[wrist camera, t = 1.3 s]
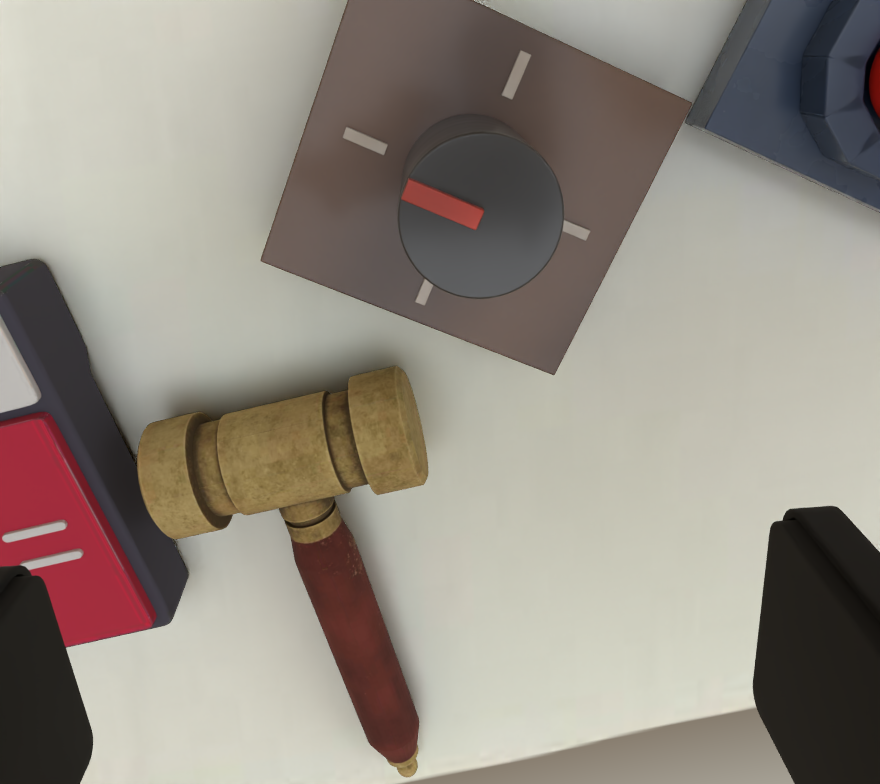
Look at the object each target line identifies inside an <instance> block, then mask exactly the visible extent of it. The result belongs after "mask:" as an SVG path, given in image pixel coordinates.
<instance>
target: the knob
mask: <svg viewBox="0 0 880 784" xmlns="http://www.w3.org/2000/svg"><path fill="white" fill-rule="evenodd" d="M397 221H398V231H399V235H400V240H401V243H402V246H403V248H404V251H405V253H406V255H407V257H408V259H409V260H410V262H411V263H412V265H413V266H414V268H415V269H416V270H417V271H418V272H419V273H420V275H421V276H422V277H424V278H425V279H426V280H427V281H428V282H429V283H431V284H432V285H434V286H435V287H437V288H438V289H440V290H442V291H445V292H447V293H449V294H452V295H455V296H458V297H463V298H469V299H489V298H495V297H500V296H503V295H506V294H509V293H511V292H514V291H516V290H518V289H520V288H521V287H523V286H525V285H526V284H528V283H529V282H530V281H532V280H533V279H534V278H535V277H536V276H538V274H539V273H540V272H541V271H542V270H543V269H544V268H545V267H546V265H547V264H548V263H549V261H550V260H551V258H552V256H553V255H554V253H555V251H556V249H557V247H558V244H559V242H560V239H561V235H562V231H563V225H564V201H563V195H562V192H561V188H560V185H559V182H558V180H557V178H556V176H555V174H554V172H553V170H552V169H551V167H550V166H549V164H548V163H547V162H546V161H545V159H544V158H543V157H542V156H541V155H540V154H539V153H538V152H537V151H536V150H535V149H534V148H533V147H531V146H530V145H529V144H528V143H527V142H526V141H525V140H524V139H523V138H522V137H521V136H520V135H519V134H518V133H517V132H516V131H515V130H514V129H512V128H511V127H509V126H508V125H507V124H505V123H503V122H501V121H500V120H498V119H495V118H492V117H489V116H485V115H480V114H462V115H457V116H452V117H449V118H447V119H444V120H442V121H440V122H438V123H436V124H435V125H433V126H432V127H430V128H429V129H428V130H427V131H425V132H424V133H423V134H422V135H421V136H420V137H419V139H418V140H417V141H416V142H415V144H414V145H413V147H412V149H411V150H410V152H409V154H408V157H407V159H406V162H405V165H404V169H403V174H402V181H401V188H400V196H399V203H398V215H397Z"/></svg>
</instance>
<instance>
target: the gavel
mask: <svg viewBox="0 0 880 784" xmlns="http://www.w3.org/2000/svg"><path fill="white" fill-rule="evenodd" d="M137 472H138V480H139V485H140V490H141V494H142V497H143V500H144V503H145V505H146V508H147V510H148V512H149V514H150V516H151V518H152V519H153V521H154V522H155V523H156V525H157V526H158V527H159V528H160V530H161V531H162V532H163V533H164V534H166V535H167V536H168V537H170V538H173V539H180V538H185V537H189V536H194V535H199V534H203V533H208V532H212V531H217V530H221V529H224V528H226V527H227V526H228V524H229V523H230V521H231V519H232V515H233V514H236V513H240V512H241V513H242V514H244V515H251V514H255V513H260V512H264V511H269V510H273V509H278V508H279V511H280V513H281V516H282V517H283V519H284V520H285V524H286V526H287V529H288V531H289V534H290V536H291V541H292V547H293V552H294V558H295V562H296V565H297V567H298V570H299V572H300V575H301V577H302V580H303V582H304V585H305V587H306V590H307V592H308V594H309V597H310V599H311V602H312V604H313V607H314V609H315V612H316V614H317V617H318V619H319V622H320V624H321V626H322V629H323V631H324V634H325V636H326V639H327V641H328V644H329V646H330V649H331V651H332V653H333V656H334V658H335V661H336V663H337V666H338V668H339V671H340V673H341V676H342V678H343V681H344V683H345V685H346V688H347V690H348V693H349V695H350V698H351V700H352V703H353V705H354V708H355V710H356V712H357V715H358V717H359V720H360V722H361V725H362V727H363V730H364V732H365V735H366V737H367V739H368V742H369V743H370V745H371V746H372V747H373V748H375V749H376V750H377V751H378V752H379V753H381V754H382V755H383V756H384V757H385V758H386V759H387V761H388V762H389V764H390V765H392V766H394V767H397V770H398V772H399V773H400V774H401V775H402V776H404V777H411V776H413V775H414V774H415V772H416V770H417V767H418V765H417V760H416V757H417V754H418V746H417V739H418V730H419V718H418V715H417V712H416V710H415V707H414V704H413V701H412V699H411V696H410V693H409V690H408V687H407V685H406V682H405V679H404V676H403V673H402V671H401V668H400V665H399V662H398V659H397V657H396V654H395V651H394V648H393V645H392V643H391V640H390V637H389V634H388V631H387V629H386V626H385V623H384V620H383V618H382V615H381V612H380V609H379V606H378V604H377V601H376V598H375V595H374V592H373V590H372V587H371V584H370V581H369V578H368V576H367V573H366V570H365V567H364V564H363V562H362V559H361V556H360V553H359V550H358V548H357V545H356V542H355V539H354V537H353V535H352V534H351V532H350V530H349V529H348V527H347V525H346V524H345V522H344V521H343V519H342V517H341V516H340V513H339V510H338V507H337V505H336V502H335V500H334V496H336V495H341V494H345V493H349V492H350V491H351V489H352V488H353V487H358V486H362V485H367V484H369V485H370V487H371V489H372V490H373V492H374V493H375V494H377V495H380V494H384V493H389V492H393V491H398V490H402V489H407V488H411V487H416V486H420V485H424V484H425V481H426V479H427V477H428V461H427V453H426V447H425V441H424V436H423V431H422V426H421V422H420V417H419V413H418V409H417V405H416V402H415V398H414V395H413V391H412V388H411V385H410V383H409V380H408V378H407V376H406V374H405V372H404V371H403V370H402V369H401V368H399V367H398V366H393V367H389V368H385V369H380V370H376V371H372V372H367V373H363V374H359V375H354V376H351V377H350V378H349V382H348V390H345V391H341V392H336V393H332V394H331V393H330V392H328V391H322V392H318V393H314V394H309V395H305V396H301V397H296V398H292V399H288V400H283V401H279V402H275V403H270V404H266V405H262V406H257V407H253V408H249V409H245V410H240V411H236V412H232V413H227V414H225V415H223V416H222V418H221V419H220V420H215V421H212V420H211V419H210V418H209V417H208V416H207V415H206V414H204V413H202V412H195V413H191V414H187V415H182V416H178V417H174V418H170V419H165V420H161V421H157V422H153V423H151V424H149V425H148V426H147V427H146V428H145V430H144V432H143V434H142V436H141V440H140V443H139V448H138V455H137Z"/></svg>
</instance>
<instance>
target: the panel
mask: <svg viewBox="0 0 880 784" xmlns="http://www.w3.org/2000/svg"><path fill="white" fill-rule="evenodd" d="M691 105H692V103H691V102H689V101H687V100H685V99H683V98H681V97H678V96H676V95H674V94H672V93H670V92H668V91H666V90H663V89H661V88H659V87H657V86H655V85H653V84H651V83H648V82H646V81H644V80H642V79H640V78H638V77H636V76H634V75H631V74H629V73H627V72H625V71H623V70H621V69H619V68H616V67H614V66H612V65H610V64H608V63H606V62H604V61H601V60H599V59H597V58H595V57H593V56H591V55H589V54H586V53H584V52H582V51H580V50H578V49H576V48H574V47H572V46H569V45H567V44H565V43H563V42H561V41H559V40H557V39H554V38H552V37H550V36H548V35H546V34H544V33H542V32H539V31H537V30H535V29H533V28H531V27H529V26H527V25H524V24H522V23H520V22H518V21H516V20H514V19H512V18H510V17H507V16H505V15H503V14H501V13H499V12H497V11H495V10H492V9H490V8H488V7H486V6H484V5H482V4H480V3H477V2H475V1H473V0H348V2H347V5H346V8H345V11H344V14H343V16H342V19H341V22H340V25H339V28H338V31H337V34H336V37H335V40H334V43H333V46H332V49H331V52H330V55H329V58H328V61H327V64H326V67H325V70H324V73H323V76H322V79H321V82H320V85H319V88H318V91H317V94H316V97H315V100H314V103H313V106H312V109H311V112H310V115H309V117H308V120H307V123H306V126H305V129H304V132H303V135H302V138H301V141H300V144H299V147H298V150H297V153H296V156H295V159H294V162H293V165H292V168H291V171H290V174H289V177H288V180H287V183H286V186H285V189H284V192H283V195H282V198H281V201H280V204H279V207H278V210H277V213H276V216H275V219H274V221H273V224H272V227H271V230H270V233H269V236H268V239H267V242H266V245H265V248H264V251H263V254H262V257H261V262H264V263H266V264H269V265H272V266H274V267H277V268H279V269H282V270H284V271H287V272H290V273H292V274H295V275H297V276H300V277H302V278H305V279H308V280H310V281H313V282H315V283H318V284H321V285H323V286H326V287H328V288H331V289H333V290H336V291H339V292H341V293H344V294H346V295H349V296H351V297H354V298H357V299H359V300H362V301H364V302H367V303H369V304H372V305H375V306H377V307H380V308H382V309H385V310H387V311H390V312H393V313H395V314H398V315H400V316H403V317H405V318H408V319H411V320H413V321H416V322H418V323H421V324H423V325H426V326H429V327H431V328H434V329H436V330H439V331H441V332H444V333H447V334H449V335H452V336H454V337H457V338H460V339H462V340H465V341H467V342H470V343H472V344H475V345H478V346H480V347H483V348H485V349H488V350H490V351H493V352H496V353H498V354H501V355H503V356H506V357H508V358H511V359H514V360H516V361H519V362H521V363H524V364H526V365H529V366H532V367H534V368H537V369H539V370H542V371H544V372H547V373H550V374H552V375H555V373H556V371H557V369H558V367H559V365H560V363H561V361H562V359H563V357H564V355H565V353H566V351H567V349H568V347H569V345H570V343H571V341H572V339H573V337H574V336H575V334H576V332H577V330H578V328H579V326H580V324H581V322H582V320H583V318H584V316H585V314H586V312H587V310H588V308H589V306H590V304H591V302H592V300H593V298H594V296H595V294H596V292H597V290H598V288H599V286H600V284H601V282H602V280H603V278H604V276H605V274H606V272H607V271H608V269H609V267H610V265H611V263H612V261H613V259H614V257H615V255H616V253H617V251H618V249H619V247H620V245H621V243H622V241H623V239H624V237H625V235H626V233H627V231H628V229H629V227H630V225H631V223H632V221H633V219H634V217H635V215H636V213H637V211H638V209H639V207H640V206H641V204H642V202H643V200H644V198H645V196H646V194H647V192H648V190H649V188H650V186H651V184H652V182H653V180H654V178H655V176H656V174H657V172H658V170H659V168H660V166H661V164H662V162H663V160H664V158H665V156H666V154H667V152H668V150H669V148H670V146H671V144H672V142H673V141H674V139H675V137H676V135H677V133H678V131H679V129H680V127H681V125H682V123H683V121H684V119H685V117H686V115H687V113H688V111H689V109H690V107H691ZM462 114H480V115H485V116H489V117H492V118H495V119H498V120H500V121H501V122H503V123H505V124H507V125H508V126H509V127H511V128H512V129H514V130H515V131H516V132H517V133H518V134H519V135H520V136H521V137H522V138H523V139H524V140H525V141H526V142H527V143H528V144H529V145H530V146H531V147H533V148H534V149H535V150H536V151H537V152H538V153H539V154H540V155H541V156H542V157H543V158H544V159H545V161H546V162H547V163H548V164H549V166H550V167H551V169H552V170H553V172H554V174H555V176H556V178H557V180H558V182H559V185H560V188H561V192H562V195H563V201H564V225H563V231H562V235H561V239H560V242H559V244H558V247H557V249H556V251H555V253H554V255H553V256H552V258H551V260H550V261H549V263H548V264H547V265H546V267H545V268H544V269H543V270H542V271H541V272H540V273H539V274H538V276H536V277H535V278H534V279H533V280H532V281H530V282H529V283H528V284H526V285H525V286H523V287H521V288H520V289H518V290H516V291H514V292H511V293H509V294H506V295H503V296H500V297H495V298H489V299H469V298H463V297H458V296H455V295H452V294H449V293H447V292H445V291H442V290H440V289H438V288H437V287H435V286H434V285H432V284H431V283H429V282H428V281H427V280H426V279H425V278H424V277H422V276H421V275H420V273H419V272H418V271H417V270H416V269H415V268H414V266H413V265H412V263H411V262H410V260H409V259H408V257H407V255H406V253H405V251H404V248H403V246H402V243H401V240H400V235H399V231H398V221H397V215H398V203H399V196H400V188H401V181H402V174H403V169H404V165H405V162H406V159H407V157H408V154H409V152H410V150H411V149H412V147H413V145H414V144H415V142H416V141H417V140H418V139H419V137H420V136H421V135H422V134H423V133H424V132H425V131H427V130H428V129H429V128H430V127H432V126H433V125H435V124H436V123H438V122H440V121H442V120H444V119H447V118H449V117H452V116H457V115H462Z"/></svg>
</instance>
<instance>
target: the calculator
mask: <svg viewBox="0 0 880 784" xmlns="http://www.w3.org/2000/svg"><path fill="white" fill-rule="evenodd" d="M15 565H22V566H25V567H26V568H27V569H28V570H29V571H30V572H31V574H32V576H35V575H37V576H40V577H41V578H42V579H43V580H44V582H45V585H46V587H47V590H48V594H49V597H50V600H51V603H52V606H53V609H54V613H55V616H56V619H57V622H58V625H59V628H60V632H61V635H62V638H63V641H64V644H65V647H71V646H75V645H80V644H84V643H89V642H93V641H98V640H102V639H107V638H111V637H116V636H120V635H125V634H129V633H134V632H138V631H143V630H147V629H152V628H156V627H161V626H165V625H167V624H169V623H170V622H171V621H172V619H173V617H174V614H175V612H176V609H177V606H178V604H179V601H180V598H181V596H182V593H183V590H184V588H185V585H186V582H187V579H188V571H187V569H186V567H185V565H184V563H183V561H182V559H181V557H180V555H179V553H178V551H177V549H176V547H175V545H174V542H173V540H172V538H170V537H168V536H167V535H166V534H164V533H163V532H162V531H161V530H160V528H159V527H158V526H157V525H156V523H155V522H154V521H153V519H152V518H151V516H150V514H149V512H148V510H147V508H146V505H145V503H144V500H143V497H142V494H141V490H140V485H139V480H138V472H137V467H136V465H135V463H134V461H133V459H132V457H131V455H130V453H129V451H128V449H127V447H126V445H125V443H124V441H123V439H122V436H121V434H120V432H119V430H118V428H117V426H116V424H115V422H114V420H113V418H112V416H111V414H110V412H109V410H108V408H107V406H106V404H105V402H104V400H103V398H102V396H101V394H100V392H99V390H98V388H97V385H96V383H95V381H94V379H93V377H92V375H91V372H90V366H89V361H88V355H87V350H86V346H85V344H84V341H83V339H82V337H81V335H80V333H79V331H78V329H77V327H76V325H75V323H74V321H73V319H72V316H71V314H70V312H69V310H68V308H67V306H66V304H65V302H64V300H63V298H62V296H61V294H60V292H59V290H58V288H57V286H56V283H55V281H54V279H53V277H52V275H51V273H50V271H49V269H48V268H47V266H46V265H45V264H44V263H43V262H42V261H40V260H37V259H30V260H26V261H21V262H18V263H14V264H10V265H6V266H2V267H0V567H2V566H15Z"/></svg>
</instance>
